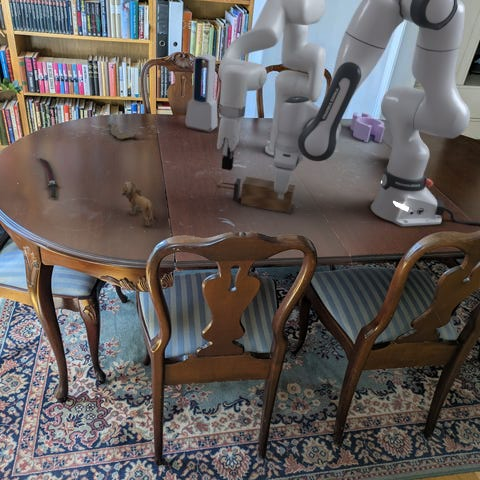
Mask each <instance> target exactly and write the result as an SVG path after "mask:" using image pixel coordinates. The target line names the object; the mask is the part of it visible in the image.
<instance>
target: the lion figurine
mask: <svg viewBox="0 0 480 480" xmlns="http://www.w3.org/2000/svg"><path fill="white" fill-rule="evenodd" d="M119 193H120V194H121V196H122V197H124V196H125V198H126V199H127V200H128V202H129V203H130V207H131V211H130V212H129V213H130V215H135V214H136V211H137V212H141V214H142V216H143V218H144V219H145V223H144V225H145V227H149V226H150V221H152V223H153V225H155V226H159V222H156V221H155V219H154V217H153V216H154V215H153V204H152V202H151V200H150V199H148V198H146V197H145V196H144V195H143V194H142V192H141V190H140V187H138V185H136V184H135V183H133V182H132V181H125V182H124V186H122V188H121V189H119ZM136 207H137V208H136ZM148 214H149V216H148Z"/></svg>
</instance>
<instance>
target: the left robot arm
mask: <svg viewBox="0 0 480 480" xmlns="http://www.w3.org/2000/svg"><path fill="white" fill-rule="evenodd" d="M325 11H326V0H266V1H265V3H264V5H263V7H262V9H261V11H260V13H259V15H258V17H257V20H256V21H255V23H254V26H253V27H252V28H251V29H249V30H247V31H246V32H244V33H242V34H241V35H239V36H238V37H236V38H235V39H234V40H233V41H232V42H231V43H230V44H229V45H228V47H227V48H226V50H225V52H224V54H223V56H222V58H221V60H220V63H219V66H218V72H217V73H218V78H219V80H220V81H221V82H220V95H219V96H220V97H219V110H218V116H220V121H219V127H218V135H217V142H216V143H217V144H216V150H217V151H219V150H222V157H221V159H222V160H221V169H222V170H226V171H232V170H233V167H234V159H235V157H234V155H235V150H236V147H237V146H238V144H239V141H240V136H241V135H240V134H241V124H242V120H243V119H244V118H245V117H246V105H247V95H248V92H254V91H258V90H260V89H261V88H263V86H265V84H266V82H267V79H268V72H267V69H266V67H264V65H263V64H260V63H257V62H253V61H248V60H243V59H242V58H243V57H244V56H246V55H248V54H251V53H254V52H258V51H263V50H268V49H270V48H274V47H276V45H277V44H278V43H279V42H280V38H281V36H282V44H281V57H280V58H281V64H282V65H283V66H284V68H288V69H287V70H286V69H285V70H281V71H280V72H278V74H277V75H276V77H275V81H274V82H275V83H274V93H275V94H274V96H275V97H274V107H273V114H272V115H273V116H272V124H271V130H270V138H269V144H266V146H265V147H264V148H265V149H264V151H265V153H266V154H267V155H269V156H272V157H274V156H273V154H274V147H275V140H276V137H277V135H278V128H277V126H278V119H279V114H280V110H281V106H282V104H283V102H284V101H285V100H287V99H288V98H291V97H296V96H302V97H307V98H309V99H310V100H311V101H312V102H313V103H314V104H315V103H316V102H318V101H319V99H320V97H321V95H322V91H323V84H324V79H325V78H324V77H325V72H326V71H325V69H326V64H327V51H326V49H325V48H324V46H322V45H321V44H317V43H312V42H308V33H309V25H310V26H311V25H314V24H318V23H319V22H320V21H321V19H322V18H323V17H324V15H325ZM289 69H291V70H289ZM297 70H299V71H297ZM303 72H305V73H303ZM306 72H307V74H306Z"/></svg>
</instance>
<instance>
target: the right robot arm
mask: <svg viewBox="0 0 480 480" xmlns="http://www.w3.org/2000/svg"><path fill="white" fill-rule="evenodd" d="M465 7H466V6H465V4H464V3H463V1H461V0H361V2H360V4H358V7H357V8H356V10H355V11H354V13H353V15H352V17H351V19H350V21H349V23H348V25H347V27H346V28H345V31H344V34H343V36H342V38H341V42H340V45H339V48H338V51H337V55H336V59H335V63H334V68H333V73H332V77H331V80H330V84H329V87H328V89H327V92H326V93H325V96H324V97H323V101H322V102H321V105H320V107H319V106H317V105H316V104H315V102H314V103H313V102H312V101H311V100H310V99H309V98H307V97H302V96H296V97H291V98H288V99H287V100H285V101H284V102H283V104H282V106H281V110H280V114H279V119H278V126H277V128H278V135H277V137H276V140H275V147H274V154H273V156H272V157H273V166H274V179H273V181H274V191H275V192H278V199H283V198H284V194H285V193H286V192H287V189H288V186H289V184H290V183H291V179H292V176H293V173H294V171H295V170H296V169H297V167H298V165H299V164H300V163H301V162H302V161H303V159H304V157H305V158H306V159H307V160H309V161H312V162H323V161H325V160H328V159H329V158H330V157H332V155H333V154H334V152H335V150H336V147H337V143H338V140H339V138H340V136H341V133H342V123H341V121H342V119H343V117H344V115H345V112H346V111H347V108H348V106H349V104H350V102H351V101H352V99H353V97H354V95H355V94H356V92H357V91H358V90H359V88H360V87H361V85H363V83H364V82H365V80H366V79H367V78H368V77H369V76H370V74H371V73H372V71H373V70H374V69H375V67H376V66H377V65H378V63H379V61H380V60H381V58H382V57H383V55H384V53H385V51H386V49H387V47H388V44H389V42H390V40H391V38H392V35H393V33H394V32H395V31H396V29H397V28H398V27H399V26H401V24H402V23H404V22H405V21H408V22H410V23H412V24H415V25H416V26H417V27H418V31H417V35H416V41H415V46H414V51H413V57H412V63H411V73H412V76H413V78H414V79H415V80H416V82H418V83H419V84H420V86H421V88H422V89H420V88H416V87H413V86H406V85H405V86H403V85H394V86H392V87H390V88H389V89H388V90H387V91H386V92H385V94H384V95H383V97H382V99H381V102H380V111H381V115H382V117H383V118H384V119H385V121H386V123H387V125H388V127H389V130H390V133H391V141H392V142H391V145H392V146H391V151H390V155H389V160H388V163H387V166H386V167H385V169H384V171H383V172H384V173H383V175H382V178H381V182H380V185H381V186H380V188H379V190H378V192H377V195H376V196H375V199H374V200H373V202H372V203H371V204H370V209H371V211H372V212H373V213H374V214H375V215H376V216H378V217H379V218H381V219H384V220H386V221H389V222H392V223H394V224H395V225H397V226H399V227H415V226H416V227H418V226H431V225H434V226H435V225H441V223H442V221H443V220H442V219H443V218H442V217H443V215H444V213H445V212H447V213H448V214H450V219H451V221H452V222H454V223H456V224H457V223H458V224H462V225H470V226H471V225H473V226H474V225H475V226H480V221H464V220H463V221H462V220H459V219H456V218H455V214H454V212H453V211H452V210H451V209H449V208H448V207H446V205H445V203H444V200H443V199H438V198H436V197H435V195H433V194H432V192H431V191H430V190H429V189H428V188H432V187H433V185H434V182H433V181H432V179H431V178H428V177H427V175H426V174H425V172H426V168H427V166H428V162H429V159H430V155H431V154H430V149H429V147H428V146H427V144H426V143H425V142H424V141H423V139H422V138H421V136H420V132H421V133H423V134H427V135H429V136H432V137H433V136H434V137H437V138H442V139H456V138H457V137H459V136H461V135H462V134H463V133H464V132H465V131H466V130H467V128H468V126H469V125H470V124H469V123H470V121H471V112H470V108H469V105H467V104H466V102H464V100H463V99H462V97H461V95H460V93H459V90H458V86H457V82H456V69H457V65H458V58H459V54H460V49H461V46H462V40H463V35H464V30H465V19H466V8H465Z"/></svg>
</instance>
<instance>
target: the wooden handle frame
mask: <svg viewBox="0 0 480 480" xmlns="http://www.w3.org/2000/svg"><path fill="white" fill-rule="evenodd" d="M241 183H242V179H241V178H236V180H235V181H234V182H229V181H224V180H223V179H219V180H218V182H217V184H216V188H217V189H220V188H221V189H228V190H232V191H233V194H232V200H233V201H237V200H238V198H239V196H240V199H241V198H242V191H241V189H242V188H243V183H242V184H241ZM240 191H241V193H240Z"/></svg>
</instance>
